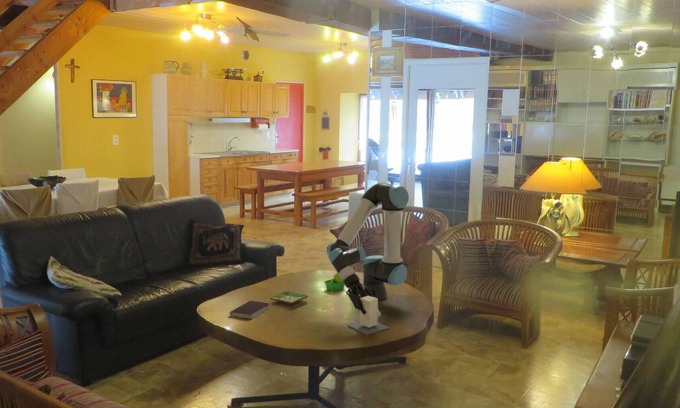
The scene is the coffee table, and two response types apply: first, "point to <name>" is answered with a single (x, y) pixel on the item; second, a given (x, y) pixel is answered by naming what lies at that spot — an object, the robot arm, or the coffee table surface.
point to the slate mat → (368, 330)
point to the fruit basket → (334, 283)
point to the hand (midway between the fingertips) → (374, 317)
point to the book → (250, 309)
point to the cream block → (372, 308)
